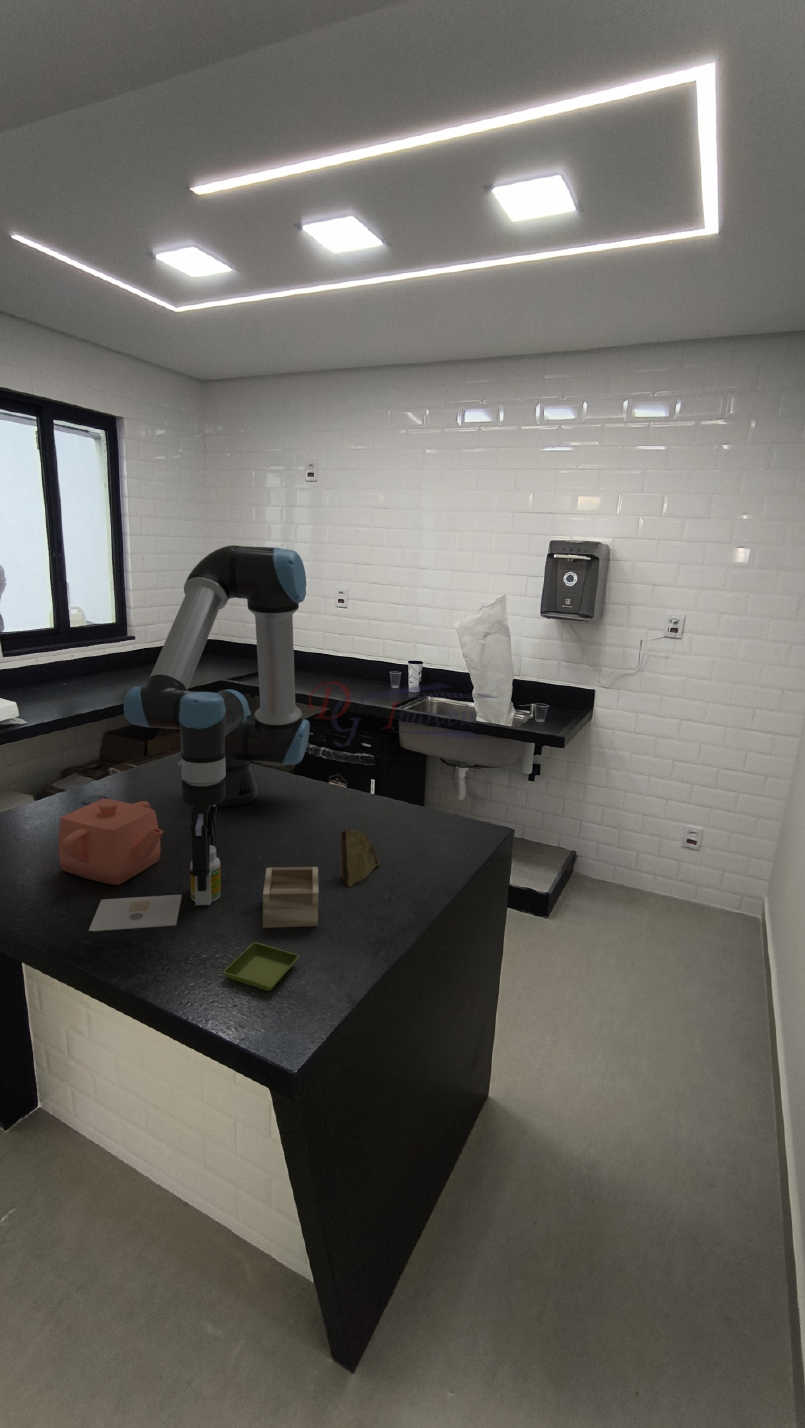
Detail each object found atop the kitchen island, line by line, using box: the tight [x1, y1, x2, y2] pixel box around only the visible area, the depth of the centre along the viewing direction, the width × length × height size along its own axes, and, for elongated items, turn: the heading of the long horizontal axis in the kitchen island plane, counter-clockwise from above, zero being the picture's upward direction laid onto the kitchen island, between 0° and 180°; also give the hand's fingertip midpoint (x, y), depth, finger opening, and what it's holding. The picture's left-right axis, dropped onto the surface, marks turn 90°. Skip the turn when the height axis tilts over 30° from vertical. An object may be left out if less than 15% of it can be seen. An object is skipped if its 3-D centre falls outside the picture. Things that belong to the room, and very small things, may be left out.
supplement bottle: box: [189, 845, 222, 903], centre depth 120 cm, size 5×5×10 cm
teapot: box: [58, 798, 165, 886], centre depth 127 cm, size 20×22×14 cm
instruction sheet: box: [88, 894, 183, 932], centre depth 115 cm, size 10×14×1 cm
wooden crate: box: [262, 866, 320, 929], centre depth 117 cm, size 10×10×6 cm
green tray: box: [222, 941, 300, 992], centre depth 101 cm, size 9×9×2 cm
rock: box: [340, 829, 380, 888], centre depth 132 cm, size 11×9×10 cm
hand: (205, 894), depth 121 cm, fingers closed on supplement bottle, 5 cm apart
